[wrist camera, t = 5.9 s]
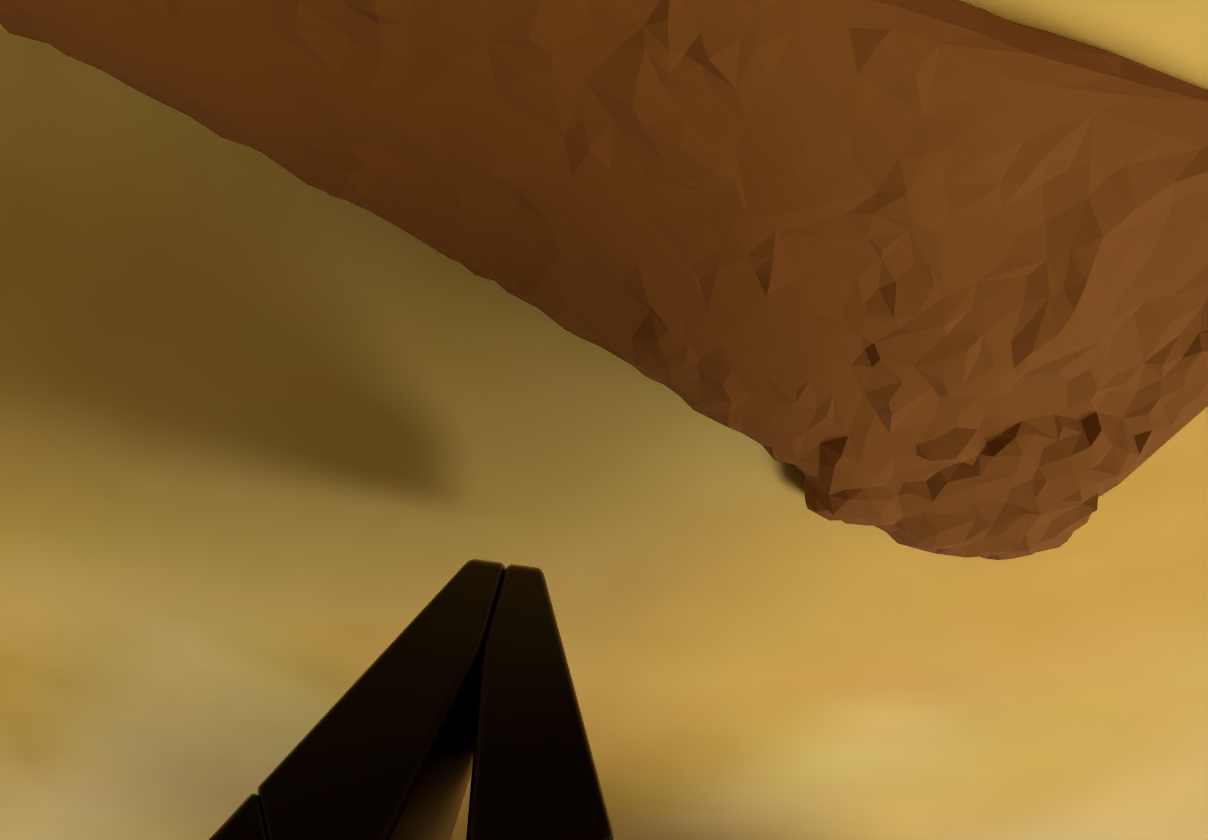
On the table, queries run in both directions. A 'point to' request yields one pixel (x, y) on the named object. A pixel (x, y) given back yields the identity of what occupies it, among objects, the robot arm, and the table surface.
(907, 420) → the primitive tool
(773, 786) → the table surface
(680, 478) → the table surface
